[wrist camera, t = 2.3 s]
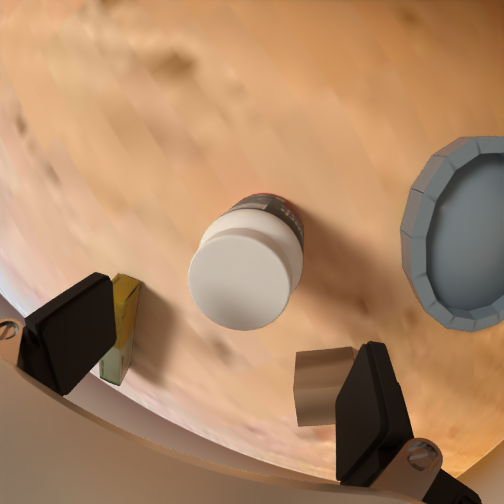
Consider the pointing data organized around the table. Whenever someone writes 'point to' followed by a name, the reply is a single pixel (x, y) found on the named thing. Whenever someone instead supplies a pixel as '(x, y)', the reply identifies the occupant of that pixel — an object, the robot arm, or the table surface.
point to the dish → (458, 234)
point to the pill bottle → (248, 263)
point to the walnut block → (319, 384)
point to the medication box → (121, 330)
